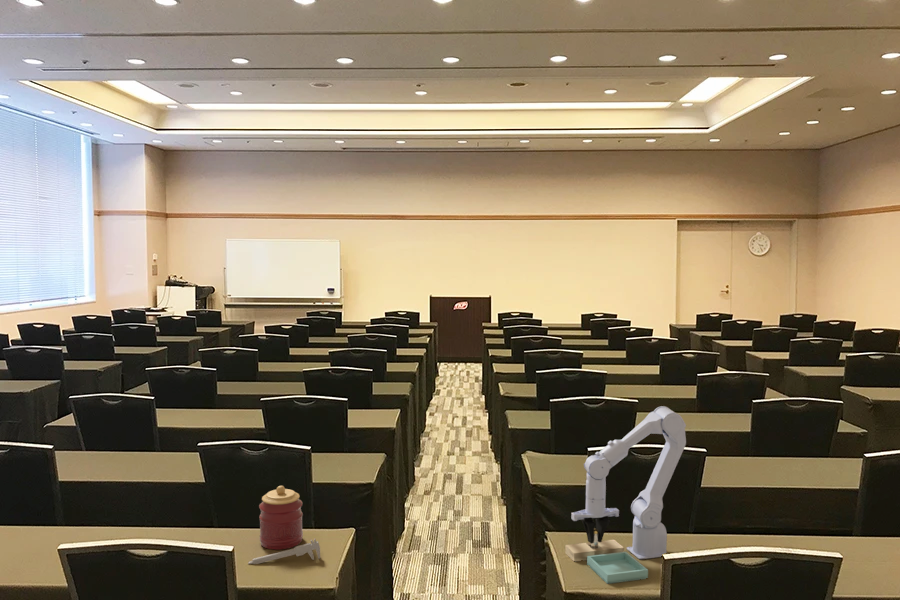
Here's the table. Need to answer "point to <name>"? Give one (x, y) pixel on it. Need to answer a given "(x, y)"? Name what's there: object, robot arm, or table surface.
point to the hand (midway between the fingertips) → (594, 541)
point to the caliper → (290, 553)
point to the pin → (595, 539)
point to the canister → (281, 519)
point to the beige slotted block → (584, 549)
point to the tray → (617, 567)
